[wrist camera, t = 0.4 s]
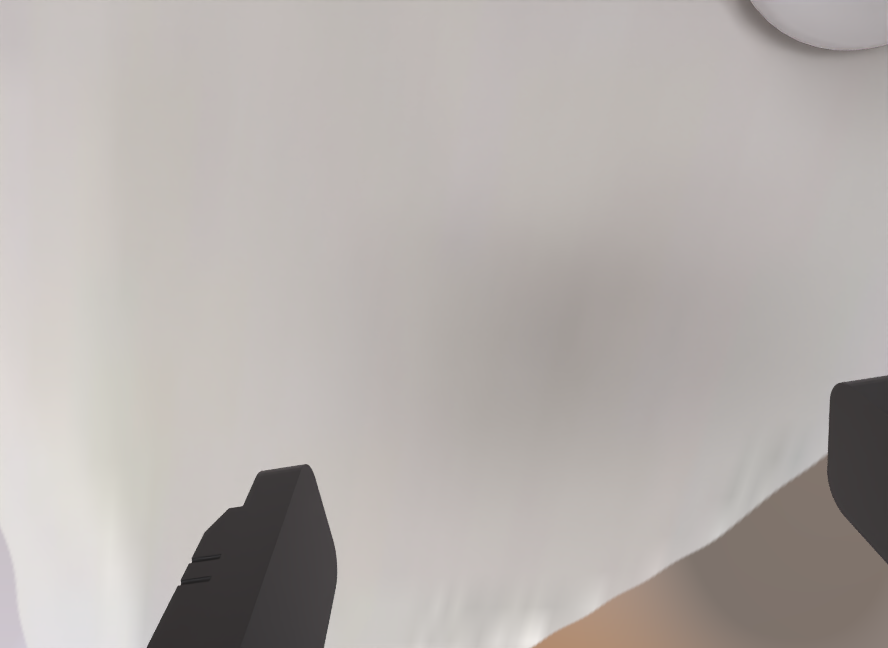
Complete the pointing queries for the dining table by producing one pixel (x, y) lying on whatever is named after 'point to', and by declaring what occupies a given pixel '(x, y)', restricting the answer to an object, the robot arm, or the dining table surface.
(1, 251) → the dining table surface
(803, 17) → the flower in vase
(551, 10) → the dining table surface
